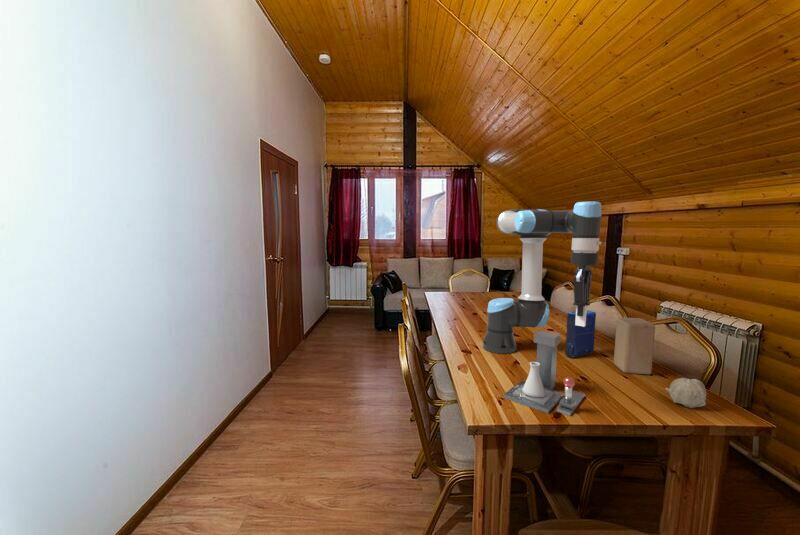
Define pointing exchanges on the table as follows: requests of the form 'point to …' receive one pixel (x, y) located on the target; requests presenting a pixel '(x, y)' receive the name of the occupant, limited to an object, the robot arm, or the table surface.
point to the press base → (544, 378)
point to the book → (580, 335)
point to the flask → (534, 382)
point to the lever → (568, 393)
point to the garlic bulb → (688, 392)
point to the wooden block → (634, 345)
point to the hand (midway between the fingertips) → (580, 325)
